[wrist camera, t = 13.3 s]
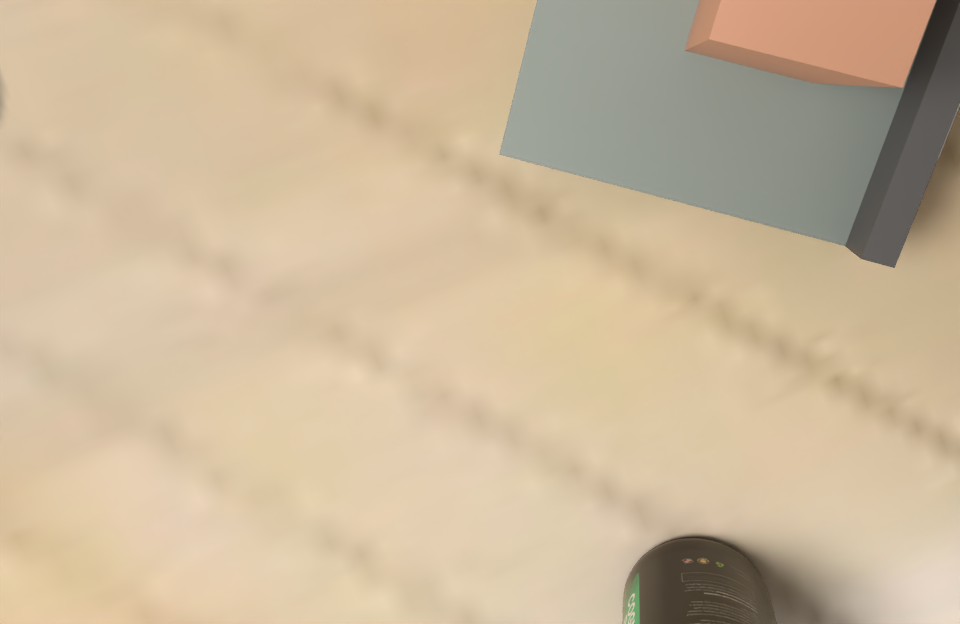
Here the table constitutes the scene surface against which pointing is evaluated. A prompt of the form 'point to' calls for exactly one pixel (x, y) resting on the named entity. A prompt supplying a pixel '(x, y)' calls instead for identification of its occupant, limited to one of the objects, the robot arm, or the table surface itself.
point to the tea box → (815, 37)
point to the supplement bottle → (695, 586)
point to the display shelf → (732, 123)
